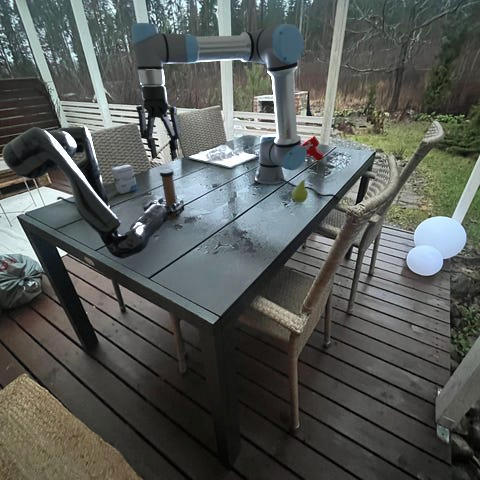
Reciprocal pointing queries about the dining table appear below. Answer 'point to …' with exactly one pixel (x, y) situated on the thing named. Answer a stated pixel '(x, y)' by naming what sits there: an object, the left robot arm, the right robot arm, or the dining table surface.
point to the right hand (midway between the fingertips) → (164, 158)
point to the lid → (166, 173)
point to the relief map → (223, 156)
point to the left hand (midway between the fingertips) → (171, 200)
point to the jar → (169, 192)
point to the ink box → (124, 178)
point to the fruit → (300, 192)
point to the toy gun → (312, 148)
